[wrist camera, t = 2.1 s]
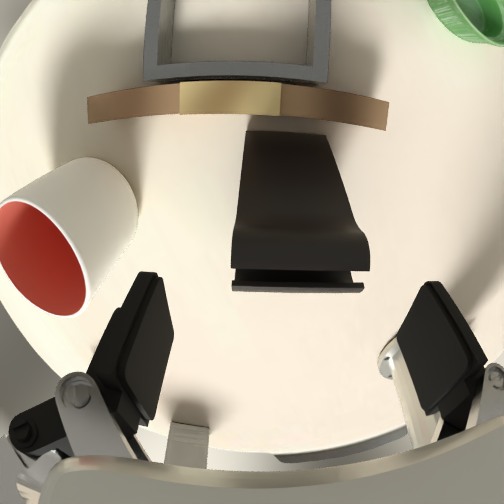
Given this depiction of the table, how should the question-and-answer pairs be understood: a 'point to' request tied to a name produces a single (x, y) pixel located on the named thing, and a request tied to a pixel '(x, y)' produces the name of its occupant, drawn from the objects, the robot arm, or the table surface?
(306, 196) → the phone stand
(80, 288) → the cup
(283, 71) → the frame
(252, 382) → the table surface
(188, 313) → the table surface
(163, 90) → the door edge rail
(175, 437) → the skincare box
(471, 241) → the table surface
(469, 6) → the ramekin
